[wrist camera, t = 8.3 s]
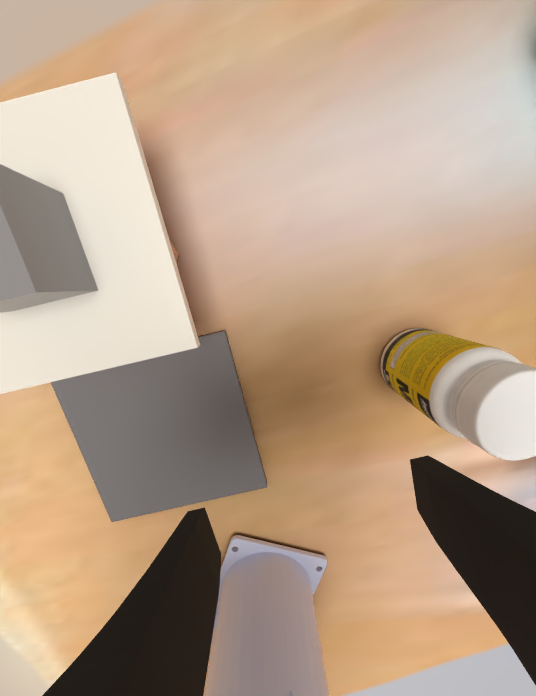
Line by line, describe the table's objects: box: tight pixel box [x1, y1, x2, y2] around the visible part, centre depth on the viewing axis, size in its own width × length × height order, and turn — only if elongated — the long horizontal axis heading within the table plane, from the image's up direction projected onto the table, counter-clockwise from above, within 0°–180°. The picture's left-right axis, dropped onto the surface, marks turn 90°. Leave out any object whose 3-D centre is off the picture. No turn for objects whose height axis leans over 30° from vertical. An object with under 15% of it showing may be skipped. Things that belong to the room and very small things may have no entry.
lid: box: [0, 72, 200, 394], centre depth 10 cm, size 11×11×4 cm
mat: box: [51, 330, 267, 522], centre depth 20 cm, size 12×12×1 cm
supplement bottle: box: [381, 328, 536, 460], centre depth 15 cm, size 5×5×8 cm
